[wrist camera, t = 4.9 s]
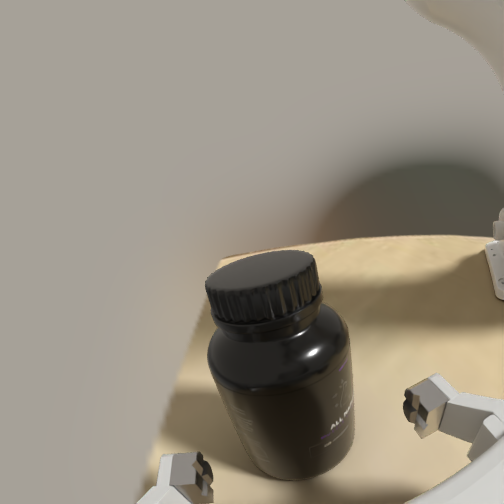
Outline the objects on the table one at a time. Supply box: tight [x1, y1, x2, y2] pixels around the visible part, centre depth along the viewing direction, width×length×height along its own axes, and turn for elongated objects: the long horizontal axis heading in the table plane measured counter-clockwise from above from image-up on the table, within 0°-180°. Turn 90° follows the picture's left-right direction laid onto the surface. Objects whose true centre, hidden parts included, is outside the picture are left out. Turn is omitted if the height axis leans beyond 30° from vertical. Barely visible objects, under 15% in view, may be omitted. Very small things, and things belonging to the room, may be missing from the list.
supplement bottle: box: [205, 250, 355, 480], centre depth 14 cm, size 7×7×12 cm
